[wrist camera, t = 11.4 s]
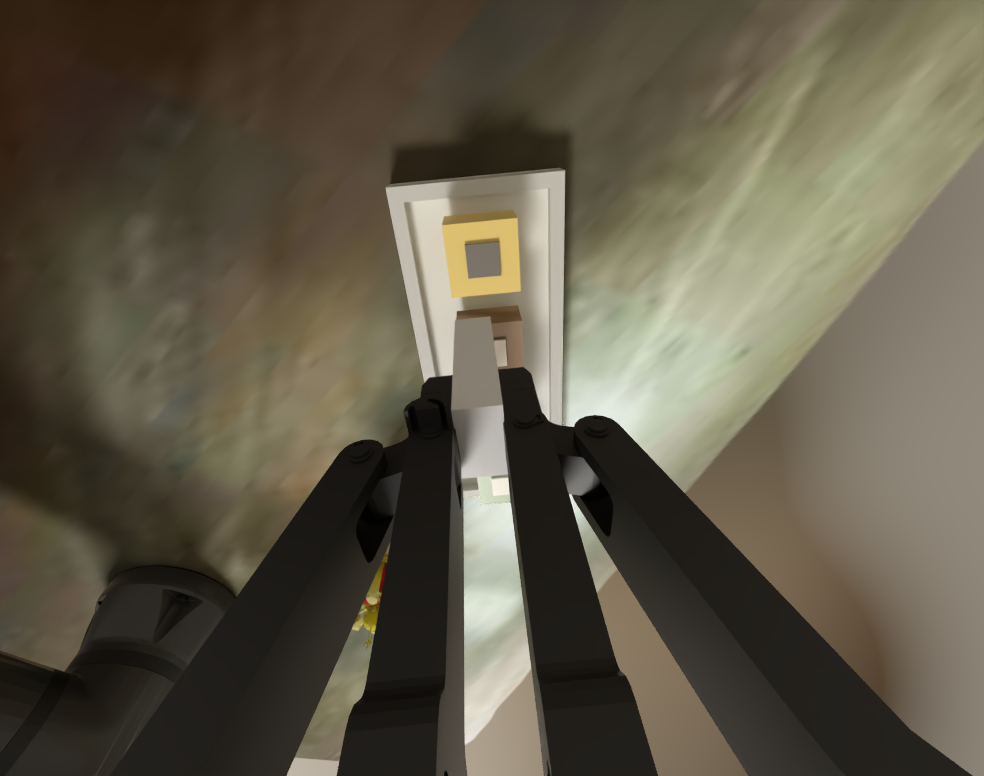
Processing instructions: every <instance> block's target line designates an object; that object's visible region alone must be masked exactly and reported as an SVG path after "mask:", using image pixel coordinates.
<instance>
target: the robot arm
mask: <svg viewBox="0 0 984 776" xmlns="http://www.w3.org/2000/svg"><path fill="white" fill-rule="evenodd" d="M404 415H405V419H406V423H407V428H408V432H409V436H408V438H407V439H405V440H404V441H402V442H400V443H397V444H395V445H392V446H389V447H386V448H383V445H382V444H381V443H379V442H378V441H375V440H361V441H357V442H354V443H352V444H350V445H348V446H347V447H345V448H344V449H343V450H342V451H341V452H340V453H339V455H338V456H337V457H336V459H335V460H334V462H333V463H332V464H331V466H330V467H329V469H328V470H327V471H326V473H325V474H324V476H323V477H322V478H321V480H320V481H319V483H318V484H317V485H316V487H315V488H314V490H313V491H312V492H311V494H310V495H309V497H308V498H307V499H306V501H305V502H304V504H303V505H302V506H301V508H300V509H299V511H298V512H297V513H296V515H295V516H294V518H293V519H292V520H291V522H290V523H289V525H288V526H287V527H286V529H285V530H284V532H283V533H282V534H281V536H280V537H279V539H278V540H277V541H276V543H275V544H274V546H273V547H272V548H271V550H270V551H269V553H268V554H267V555H266V557H265V558H264V560H263V561H262V562H261V564H260V565H259V567H258V568H257V570H256V571H255V572H254V574H253V575H252V577H251V578H250V579H249V581H248V582H247V584H246V585H245V586H244V588H243V589H242V591H241V592H240V593H239V595H238V596H237V598H236V599H235V598H234V597H233V595H232V594H231V593H230V592H229V591H228V590H227V589H226V588H224V587H223V586H222V585H220V584H219V583H217V582H215V581H213V580H212V579H209V578H207V577H205V576H203V575H200V574H197V573H194V572H191V571H187V570H183V569H178V568H171V567H160V566H150V567H140V568H134V569H130V570H127V571H125V572H122V573H120V574H119V575H117V576H116V577H115V578H114V579H113V580H112V581H111V582H110V584H109V585H108V586H107V588H106V589H105V590H104V591H103V593H102V594H101V595H100V597H99V599H98V601H97V604H96V607H95V614H94V616H93V618H92V620H91V622H90V624H89V626H88V629H87V631H86V634H85V636H84V639H83V642H82V645H81V647H80V650H79V652H78V653H77V655H76V656H75V658H74V659H73V661H72V662H71V663H70V665H69V666H68V667H67V669H66V670H65V672H63V671H60V670H57V669H54V668H51V667H48V666H45V665H42V664H39V663H36V662H33V661H30V660H27V659H24V658H21V657H18V656H15V655H12V654H8V653H5V652H2V651H0V776H286V775H287V773H288V770H289V768H290V766H291V764H292V761H293V759H294V757H295V755H296V753H297V750H298V748H299V746H300V744H301V741H302V739H303V737H304V735H305V732H306V730H307V728H308V726H309V723H310V721H311V719H312V717H313V714H314V712H315V710H316V708H317V706H318V703H319V701H320V699H321V697H322V694H323V692H324V690H325V688H326V685H327V683H328V681H329V679H330V676H331V674H332V672H333V670H334V667H335V665H336V663H337V661H338V658H339V656H340V654H341V652H342V649H343V647H344V645H345V643H346V640H347V638H348V636H349V634H350V631H351V629H352V627H353V625H354V622H355V620H356V618H357V616H358V613H359V611H360V609H361V607H362V605H363V602H364V600H365V598H366V596H367V593H368V591H369V589H370V587H371V584H372V582H373V580H374V578H375V575H376V573H377V571H378V569H379V566H380V564H381V562H382V560H383V557H384V555H385V553H386V551H387V548H388V546H389V544H390V547H389V553H388V559H387V564H386V570H385V576H384V582H383V588H382V594H381V599H380V605H379V611H378V617H377V623H376V629H375V634H374V640H373V646H372V652H371V658H370V663H369V669H368V675H367V681H366V686H365V690H364V693H363V696H362V698H361V699H360V700H359V701H358V702H357V703H356V704H354V706H353V708H352V711H351V713H350V715H349V719H348V723H347V727H346V731H345V735H344V741H343V746H342V751H341V756H340V761H339V767H338V772H337V776H467V769H466V759H465V743H464V539H463V486H462V480H461V473H462V479H465V478H475V477H485V476H494V475H504V474H508V481H509V493H510V503H511V507H512V515H513V523H514V531H515V539H516V547H517V555H518V563H519V571H520V579H521V588H522V596H523V604H524V612H525V620H526V628H527V636H528V644H529V652H530V660H531V668H532V675H533V676H532V677H533V685H534V692H535V701H536V709H537V717H538V725H539V733H540V742H541V752H542V760H543V761H542V762H543V771H544V776H658V774H657V771H656V767H655V764H654V761H653V757H652V754H651V750H650V747H649V744H648V741H647V737H646V734H645V731H644V727H643V724H642V720H641V717H640V714H639V710H638V707H637V704H636V700H635V697H634V694H633V692H632V689H631V686H630V684H629V682H628V679H627V677H626V676H625V675H624V674H623V673H622V672H621V671H620V669H619V667H618V665H617V662H616V659H615V656H614V652H613V649H612V645H611V642H610V638H609V635H608V631H607V627H606V624H605V621H604V617H603V613H602V610H601V606H600V603H599V599H598V596H597V592H596V589H595V585H594V582H593V578H592V575H591V571H590V567H589V564H588V560H587V557H586V553H585V550H584V546H583V543H582V539H581V536H580V532H579V529H578V525H577V522H576V518H575V515H574V511H573V507H572V504H571V500H570V497H569V494H572V496H573V498H574V501H575V502H576V504H577V505H578V507H579V508H580V510H581V512H582V513H583V515H584V516H585V518H586V520H587V521H588V523H589V524H590V526H591V527H592V529H593V531H594V532H595V534H596V535H597V537H598V539H599V540H600V542H601V543H602V545H603V546H604V548H605V550H606V551H607V553H608V554H609V556H610V558H611V559H612V561H613V562H614V564H615V565H616V567H617V569H618V570H619V572H620V573H621V575H622V576H623V578H624V580H625V581H626V583H627V584H628V586H629V588H630V589H631V591H632V592H633V594H634V595H635V597H636V599H637V600H638V602H639V603H640V605H641V607H642V608H643V610H644V611H645V613H646V614H647V616H648V618H649V619H650V621H651V622H652V624H653V626H654V627H655V628H656V630H657V632H658V633H659V635H660V637H661V638H662V640H663V641H664V643H665V644H666V646H667V648H668V649H669V651H670V652H671V654H672V656H673V657H674V659H675V660H676V662H677V663H678V665H679V666H680V668H681V670H682V671H683V673H684V674H685V676H686V678H687V679H688V681H689V682H690V684H691V686H692V687H693V689H694V690H695V692H696V694H697V695H698V697H699V698H700V700H701V701H702V703H703V704H704V706H705V708H706V709H707V711H708V712H709V714H710V716H711V717H712V719H713V720H714V722H715V724H716V725H717V726H718V728H719V730H720V731H721V733H722V734H723V736H724V738H725V739H726V741H727V743H728V744H729V745H730V747H731V749H732V750H733V752H734V754H735V755H736V757H737V758H738V760H739V762H740V763H741V764H742V766H743V768H744V769H745V771H746V773H747V774H748V775H749V776H972V775H971V774H969V773H968V772H967V771H965V770H964V769H962V768H961V767H959V766H958V765H957V764H956V763H954V762H953V761H952V760H950V759H949V758H948V757H946V756H945V755H944V754H942V753H941V752H940V751H938V750H937V749H936V748H934V747H933V746H931V745H930V744H929V743H927V742H926V741H925V740H923V739H922V738H921V737H919V736H918V735H917V734H915V733H914V732H913V731H911V730H910V729H909V728H908V727H907V726H906V725H905V724H904V723H903V722H902V721H901V719H900V718H899V717H898V716H897V715H896V714H895V713H894V712H893V711H892V710H891V709H890V708H889V707H888V706H887V705H886V704H885V703H884V702H883V701H882V700H881V699H880V697H879V696H878V695H877V694H876V693H875V692H874V691H873V690H872V689H871V688H870V687H869V686H868V685H867V684H866V683H865V682H864V681H863V680H862V679H861V678H860V677H859V675H857V673H856V672H854V670H853V669H852V668H851V667H850V666H849V665H848V664H847V663H846V662H845V661H844V660H843V659H842V658H841V657H840V656H839V655H838V653H837V652H836V651H835V650H834V649H833V648H832V647H831V646H830V645H829V644H828V643H827V642H826V641H825V640H824V639H823V638H822V637H821V636H820V635H819V634H818V633H817V631H816V630H815V629H814V628H813V627H812V626H811V625H810V624H809V623H808V622H807V621H806V620H805V619H804V618H803V617H802V616H801V615H800V614H799V613H798V612H797V611H796V610H795V608H794V607H793V606H792V605H791V604H790V603H789V602H788V601H787V600H786V599H785V598H784V597H783V596H782V595H781V594H780V593H779V592H778V591H777V590H776V589H775V588H774V586H773V585H772V584H771V583H769V581H768V580H767V579H766V578H765V577H764V576H763V575H762V574H761V573H760V572H759V571H758V570H757V569H756V568H755V567H754V566H753V565H752V563H751V562H750V561H749V560H748V559H747V558H746V557H745V556H744V555H743V554H742V553H741V552H740V551H739V550H738V549H737V548H736V547H735V546H734V545H733V544H732V542H730V540H729V539H728V538H727V537H726V536H725V535H724V534H723V533H722V532H721V531H720V530H719V529H718V528H717V527H716V526H715V525H714V524H713V523H712V522H711V520H710V519H709V518H708V517H707V516H706V515H705V514H704V513H703V512H702V511H701V510H700V509H699V508H698V507H697V506H696V505H695V504H694V503H693V502H692V501H691V500H690V499H689V497H688V496H686V494H685V493H684V492H683V491H682V490H681V489H680V488H679V487H678V486H677V485H676V484H675V483H674V482H673V481H672V480H671V479H670V478H669V476H668V475H667V474H666V473H665V472H664V471H663V470H662V469H661V468H660V467H659V466H658V465H657V464H656V463H655V462H654V461H653V460H652V459H651V458H650V457H649V456H648V454H647V453H646V452H645V451H644V450H643V449H642V448H641V447H640V446H639V445H638V444H637V443H636V442H635V441H634V440H633V439H632V438H631V437H630V436H629V435H628V434H627V432H626V431H625V430H624V429H623V428H622V427H621V426H620V425H619V424H618V423H617V422H615V421H614V420H612V419H610V418H607V417H604V416H597V415H593V416H586V417H584V418H581V419H579V420H578V421H577V422H576V423H575V426H574V427H568V426H561V425H557V424H554V423H552V422H550V421H548V419H547V418H546V416H545V415H544V414H543V413H542V411H541V407H540V404H539V400H538V396H537V393H536V390H535V385H534V383H533V378H532V375H531V373H530V372H529V371H528V370H527V369H526V368H524V367H518V368H508V369H498V367H497V360H496V353H495V346H494V339H493V332H492V325H491V318H490V316H489V317H479V318H469V319H459V320H455V330H454V353H453V375H448V376H438V377H429V378H428V379H427V380H426V382H425V383H424V384H423V385H422V391H421V397H420V398H419V399H417V400H414V401H412V402H411V403H410V404H408V405H407V406H406V408H405V410H404Z"/></svg>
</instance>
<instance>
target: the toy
mask: <svg viewBox="0 0 984 776" xmlns="http://www.w3.org/2000/svg"><path fill="white" fill-rule="evenodd" d="M389 547H390V544H389V546H388V548H387V551H386V553H385V555H384V557H383V560H382V562H381V564H380V566H379V569H378V571H377V573H376V575H375V578H374V580H373V582H372V584H371V587H370V589H369V591H368V593H367V596H366V598H365V600H364V602H363V605H362V607H361V608H365V609H361V610H360V611H359V613H358V616H357V618H356V620H355V622H354V625H353V627H352V629H353V630H356V631H358V630H359V629H360V628H361V627H362V626H363V624H364V626H365V628H366V629H368V630H370V633H372V634H375V629H376V623H377V617H378V611H379V605H380V599H381V594H382V588H383V582H384V576H385V570H386V564H387V559H388V553H389ZM364 611H366V613H365V615H364V617H363V618H362V619H360V620H359V621H358V619H359V617H360V613H362V612H364ZM370 633H369V636H370ZM368 639H369V638H368ZM367 641H368V643H367ZM367 641H365V644H366V643H367V647H366V649H367V648H368V647H369V645H370V644H371V641H372V636H371V637H370V639H369V640H367Z"/></svg>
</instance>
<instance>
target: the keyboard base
mask: <svg viewBox="0 0 984 776" xmlns="http://www.w3.org/2000/svg"><path fill="white" fill-rule="evenodd" d="M386 193H387V198H388V203H389V208H390V213H391V218H392V223H393V228H394V232H395V237H396V242H397V247H398V252H399V257H400V262H401V267H402V272H403V277H404V282H405V287H406V292H407V297H408V302H409V307H410V312H411V317H412V322H413V327H414V332H415V337H416V342H417V347H418V352H419V357H420V362H421V367H422V372H423V377H424V382H426V380H427V379H428V378H429V377H438V376H448V375H453V353H454V330H455V320H456V317H457V311H464V310H474V309H485V308H495V307H505V306H516V305H518V308H519V311H520V315H521V318H522V329H523V351H524V368H526V369H527V370H528V371H529V372H530V373H531V375H532V378H533V383H534V385H535V390H536V393H537V396H538V400H539V404H540V407H541V411H542V413H543V414H544V415H545V416H546V418H547V419H548V421H550V422H552V423H554V424H557V425H561V426H562V365H563V290H564V216H565V170H563V169H561V168H551V169H541V170H531V171H520V172H510V173H499V174H489V175H479V176H468V177H458V178H448V179H437V180H427V181H417V182H406V183H396V184H390V185H388V186H387V187H386ZM504 210H514V212H515V214H516V216H517V218H518V239H519V261H520V284H521V291H519V292H509V293H498V294H488V295H478V296H467V297H457V298H452V295H451V288H450V281H449V274H448V266H447V259H446V252H445V245H444V238H443V231H442V222H443V218H444V216H452V215H462V214H473V213H483V212H493V211H504ZM461 480H462V486H463V498H468V497H478V496H479V488H478V481H477V477H475V478H465V479H462V473H461Z"/></svg>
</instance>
